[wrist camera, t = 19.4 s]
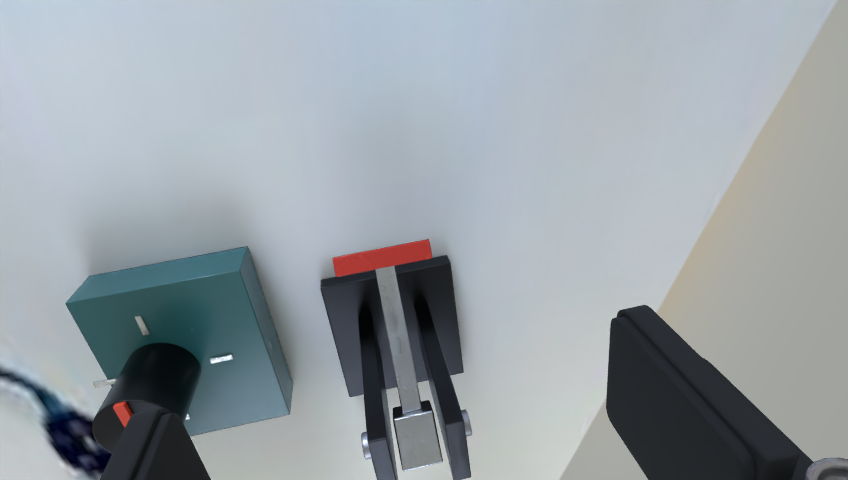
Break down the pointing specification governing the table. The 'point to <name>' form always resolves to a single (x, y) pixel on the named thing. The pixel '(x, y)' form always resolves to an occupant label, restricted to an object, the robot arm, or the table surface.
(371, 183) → the table surface
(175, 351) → the knob
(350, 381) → the black upright frame
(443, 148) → the table surface
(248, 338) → the dial panel
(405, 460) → the toaster lever
